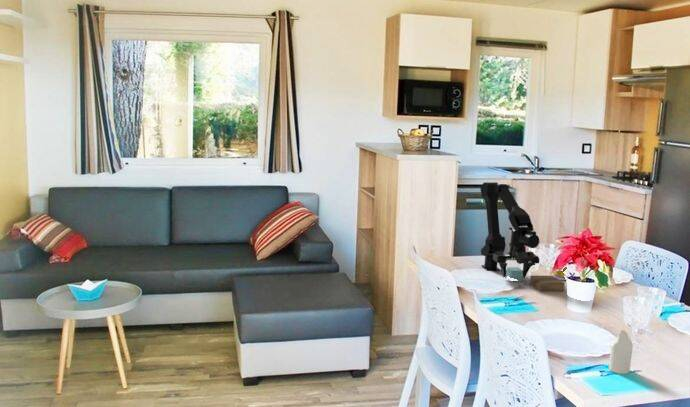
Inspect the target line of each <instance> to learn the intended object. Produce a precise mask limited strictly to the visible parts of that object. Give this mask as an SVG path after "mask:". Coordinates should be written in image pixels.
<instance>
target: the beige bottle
mask: <svg viewBox="0 0 690 407" xmlns="http://www.w3.org/2000/svg"><path fill="white" fill-rule="evenodd" d="M617 335H618V336H616V338H615V340H614V341H613V342H612V343H611V346H610V354H609V362H608V370H609V371H610V372H613V373H615V374H619V375H626V374H629V373H630V371H631V370H630V369H631V363H632V356H633V347H634V346H633V342H632V340H631V338H630V337H629V334H628V331H626V330H624V329H621V330H620V331H619V333H618V334H617Z"/></svg>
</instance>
